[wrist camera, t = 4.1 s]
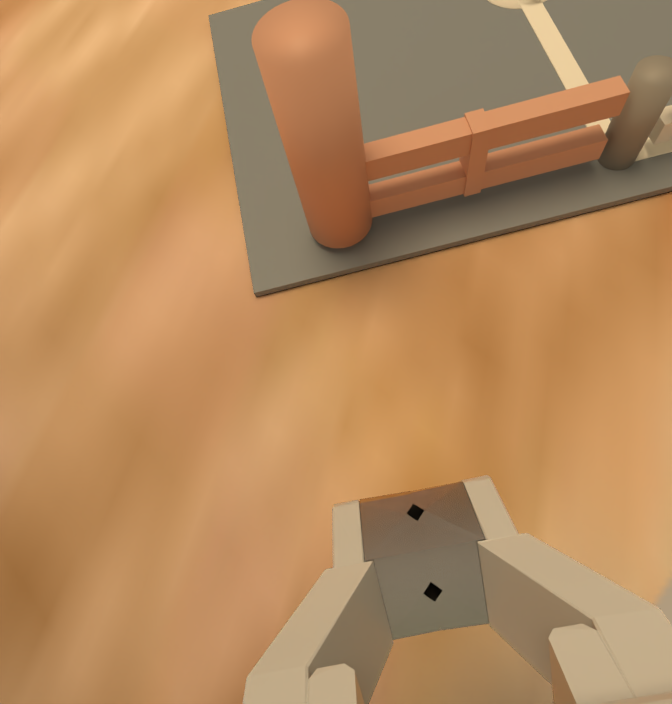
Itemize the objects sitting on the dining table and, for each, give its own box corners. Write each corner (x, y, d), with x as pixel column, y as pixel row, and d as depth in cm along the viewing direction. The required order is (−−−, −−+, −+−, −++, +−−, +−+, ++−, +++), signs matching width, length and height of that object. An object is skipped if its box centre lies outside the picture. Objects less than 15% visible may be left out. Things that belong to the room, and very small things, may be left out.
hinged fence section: (303, 204, 26) (245, 13, 17) (580, 131, 26) (674, -109, 16) (315, 255, 25) (258, 78, 16) (606, 180, 24) (724, -50, 15)
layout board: (210, 21, 34) (208, 14, 34) (657, -105, 33) (660, -114, 32) (256, 296, 26) (253, 292, 25) (862, 142, 24) (869, 135, 24)
